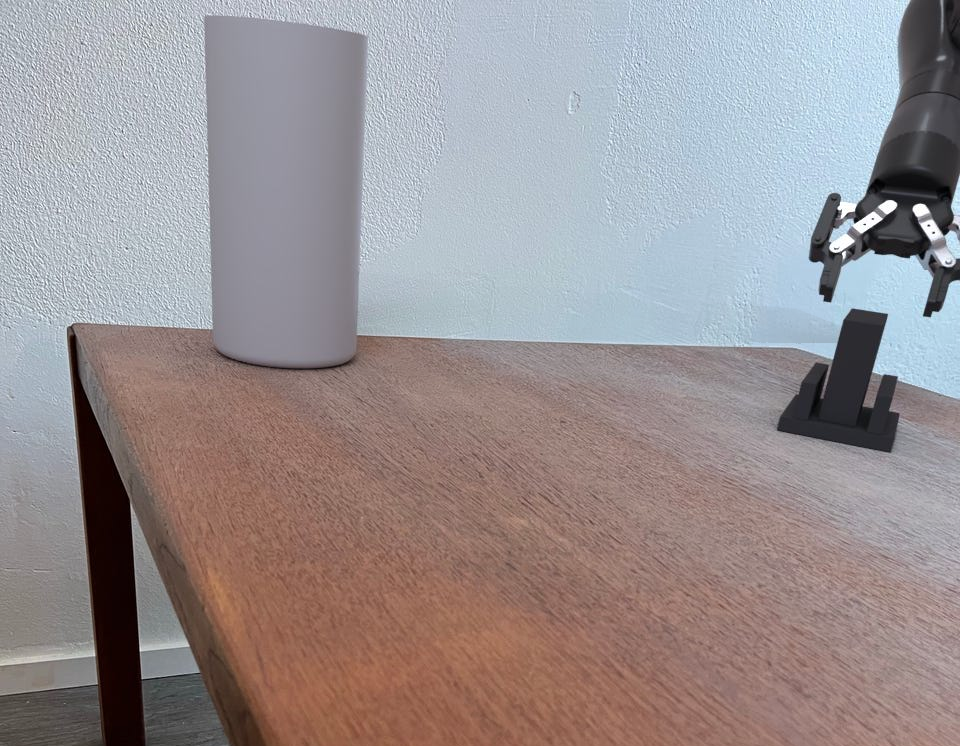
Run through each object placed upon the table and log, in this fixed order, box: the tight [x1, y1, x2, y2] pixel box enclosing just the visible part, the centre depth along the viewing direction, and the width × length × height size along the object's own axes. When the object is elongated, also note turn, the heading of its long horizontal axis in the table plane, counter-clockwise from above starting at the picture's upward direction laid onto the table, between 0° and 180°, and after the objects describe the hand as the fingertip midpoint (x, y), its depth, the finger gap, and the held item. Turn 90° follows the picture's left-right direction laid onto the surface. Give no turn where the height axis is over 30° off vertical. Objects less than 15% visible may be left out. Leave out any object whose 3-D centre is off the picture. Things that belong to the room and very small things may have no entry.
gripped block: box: [818, 307, 889, 427], centre depth 82 cm, size 8×3×8 cm, turn 157°
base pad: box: [776, 362, 901, 453], centre depth 83 cm, size 10×9×4 cm
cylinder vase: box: [203, 14, 369, 369], centre depth 82 cm, size 12×12×25 cm
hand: (877, 303), depth 87 cm, fingers open, 8 cm apart
